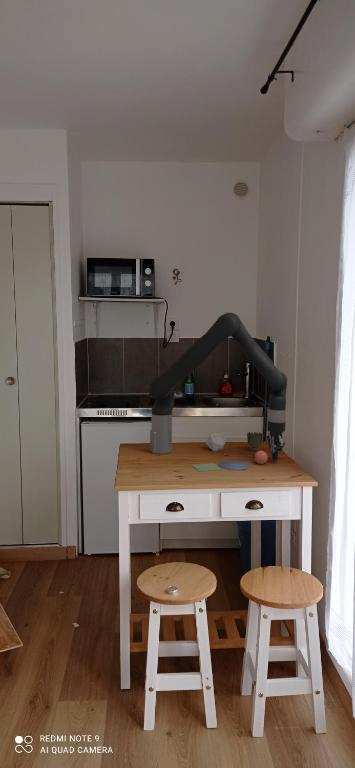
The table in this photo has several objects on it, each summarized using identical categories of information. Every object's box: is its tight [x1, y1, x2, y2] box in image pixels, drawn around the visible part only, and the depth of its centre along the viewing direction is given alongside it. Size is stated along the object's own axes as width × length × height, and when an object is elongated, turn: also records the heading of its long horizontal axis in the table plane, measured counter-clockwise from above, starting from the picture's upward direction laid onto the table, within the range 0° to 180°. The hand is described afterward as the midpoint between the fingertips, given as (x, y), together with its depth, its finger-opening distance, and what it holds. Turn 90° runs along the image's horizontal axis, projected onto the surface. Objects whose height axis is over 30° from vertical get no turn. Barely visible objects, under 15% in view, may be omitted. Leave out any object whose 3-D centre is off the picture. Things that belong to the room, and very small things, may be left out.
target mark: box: [217, 460, 251, 471], centre depth 239 cm, size 13×13×1 cm
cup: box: [246, 431, 264, 452], centre depth 265 cm, size 8×7×8 cm
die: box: [205, 432, 227, 452], centre depth 265 cm, size 8×9×10 cm
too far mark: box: [191, 462, 224, 473], centre depth 236 cm, size 10×10×1 cm
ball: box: [254, 450, 268, 465], centre depth 242 cm, size 6×6×6 cm
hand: (274, 460), depth 245 cm, fingers closed
